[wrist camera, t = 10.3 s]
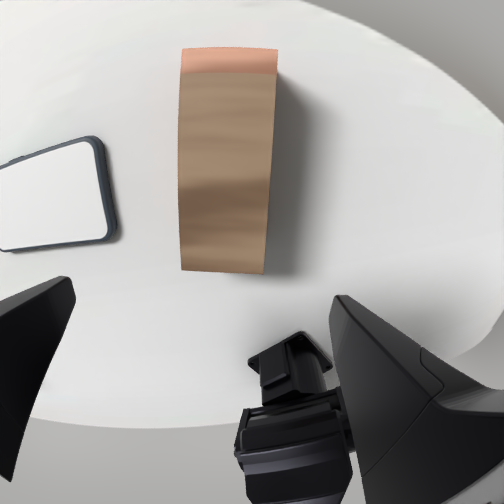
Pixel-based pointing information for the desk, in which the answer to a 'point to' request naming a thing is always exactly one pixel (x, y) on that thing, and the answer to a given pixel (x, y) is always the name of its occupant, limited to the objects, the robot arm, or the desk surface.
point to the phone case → (56, 197)
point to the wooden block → (225, 157)
